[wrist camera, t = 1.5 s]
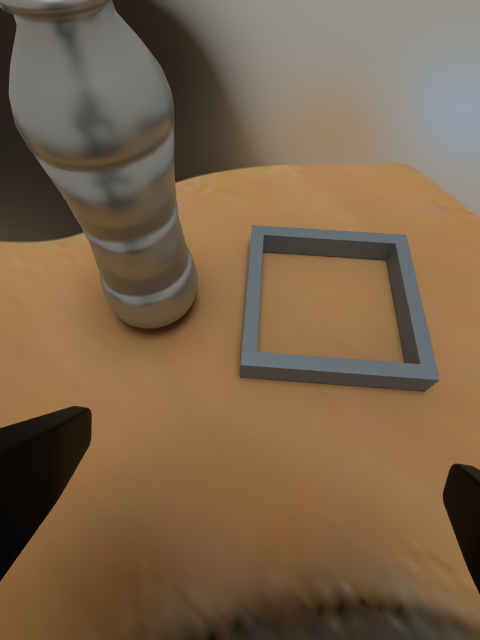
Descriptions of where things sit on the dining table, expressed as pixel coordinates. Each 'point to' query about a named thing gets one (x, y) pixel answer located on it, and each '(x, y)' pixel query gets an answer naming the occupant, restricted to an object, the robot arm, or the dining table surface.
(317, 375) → the frame
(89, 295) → the dining table surface
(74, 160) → the plastic bottle
